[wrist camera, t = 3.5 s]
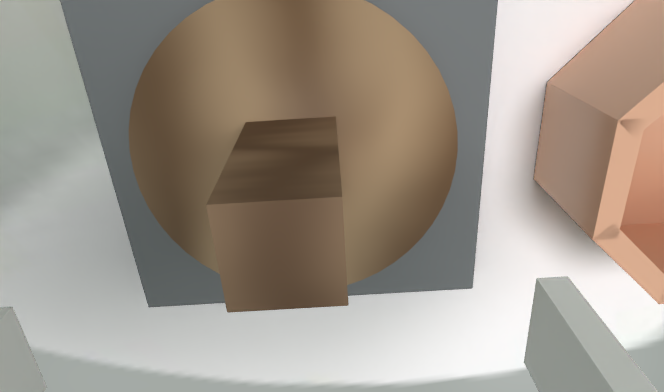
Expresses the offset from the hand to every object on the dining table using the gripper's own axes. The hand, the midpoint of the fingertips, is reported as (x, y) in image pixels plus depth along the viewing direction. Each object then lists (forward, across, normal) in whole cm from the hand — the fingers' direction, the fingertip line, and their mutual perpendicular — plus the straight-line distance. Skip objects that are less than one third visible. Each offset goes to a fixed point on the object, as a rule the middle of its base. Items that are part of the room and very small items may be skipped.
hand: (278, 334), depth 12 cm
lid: (+12, 0, 0) cm, 12 cm away
